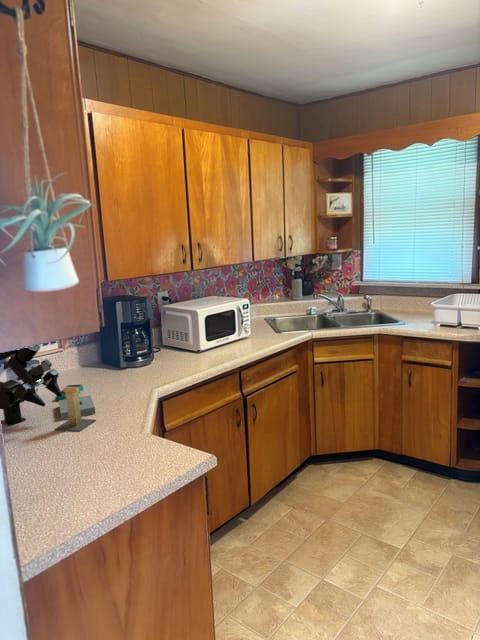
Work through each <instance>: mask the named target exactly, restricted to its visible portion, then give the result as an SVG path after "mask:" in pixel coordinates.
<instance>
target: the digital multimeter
mask: <svg viewBox="0 0 480 640" xmlns="http://www.w3.org/2000/svg"><path fill="white" fill-rule="evenodd" d="M65 387H79V392H78V394H81V392H82V391H83V390H84V384H69V385H66V386H65ZM81 390H82V391H81ZM60 391H61V393H62V396H61V397H59V396H57V395H55V401H57V402H59V400H65V399H66V392H64V388H63V389H62V390H60ZM80 391H81V392H80Z"/></svg>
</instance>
